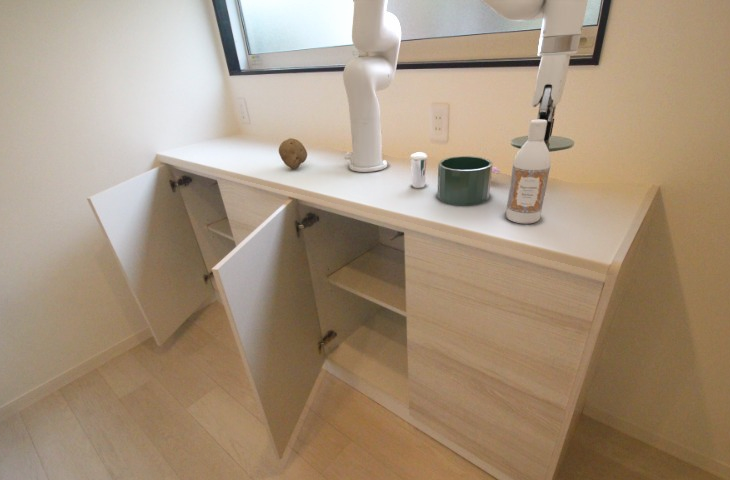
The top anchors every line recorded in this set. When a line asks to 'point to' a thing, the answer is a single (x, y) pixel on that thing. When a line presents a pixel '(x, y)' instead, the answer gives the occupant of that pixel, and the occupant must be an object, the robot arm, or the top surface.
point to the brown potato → (292, 153)
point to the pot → (464, 180)
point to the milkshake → (418, 169)
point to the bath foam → (529, 177)
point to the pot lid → (547, 142)
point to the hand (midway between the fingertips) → (542, 137)
